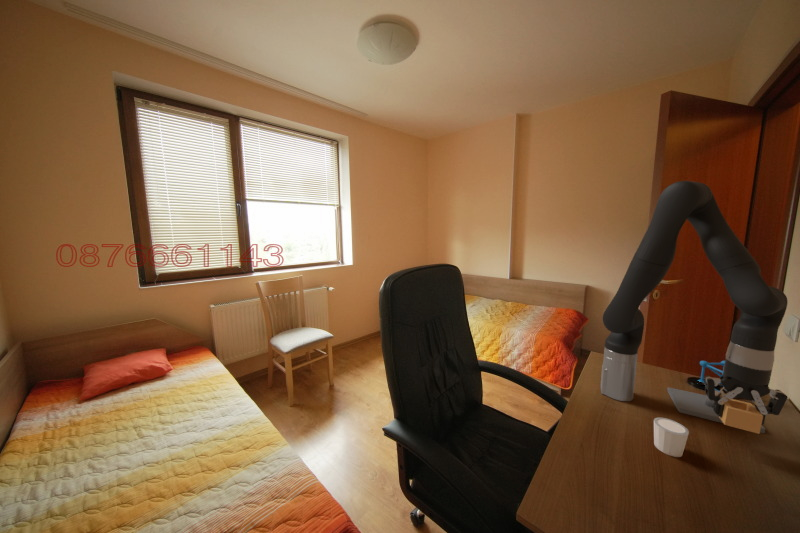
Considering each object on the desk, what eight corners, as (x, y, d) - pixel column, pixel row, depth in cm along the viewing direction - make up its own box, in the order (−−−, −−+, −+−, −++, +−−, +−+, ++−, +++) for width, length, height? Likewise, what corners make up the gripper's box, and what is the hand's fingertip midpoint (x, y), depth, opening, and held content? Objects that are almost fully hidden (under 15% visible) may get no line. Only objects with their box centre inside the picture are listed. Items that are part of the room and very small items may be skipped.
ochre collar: (724, 424, 73) (727, 407, 72) (715, 411, 78) (718, 395, 77) (759, 433, 69) (763, 416, 69) (747, 419, 74) (750, 403, 74)
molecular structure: (694, 383, 105) (698, 359, 104) (722, 384, 105) (725, 359, 104) (724, 399, 95) (728, 373, 94) (754, 400, 95) (758, 373, 94)
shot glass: (676, 442, 77) (679, 419, 76) (692, 461, 71) (696, 437, 70) (646, 436, 79) (648, 414, 78) (659, 455, 73) (662, 431, 72)
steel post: (706, 406, 90) (709, 390, 89) (704, 402, 92) (706, 387, 91) (717, 408, 88) (719, 393, 88) (714, 404, 90) (716, 389, 90)
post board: (678, 412, 89) (679, 408, 89) (667, 390, 101) (667, 387, 101) (764, 433, 80) (765, 428, 79) (740, 407, 91) (741, 403, 91)
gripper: (713, 360, 72) (703, 418, 74) (803, 376, 64) (788, 440, 66) (703, 349, 78) (694, 402, 80) (783, 362, 70) (770, 421, 73)
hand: (736, 419), depth 73 cm, fingers closed on ochre collar, 6 cm apart
